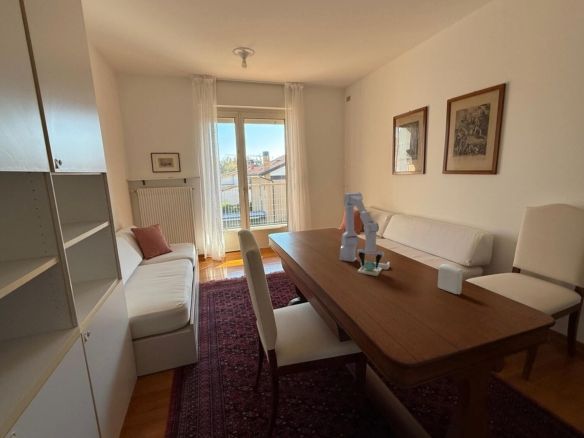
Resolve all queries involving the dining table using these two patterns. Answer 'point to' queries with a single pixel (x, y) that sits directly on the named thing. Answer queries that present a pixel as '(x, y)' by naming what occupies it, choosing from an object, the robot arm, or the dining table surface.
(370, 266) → the ball
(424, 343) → the dining table surface
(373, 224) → the robot arm
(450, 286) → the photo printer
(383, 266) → the wall
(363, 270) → the white tray
